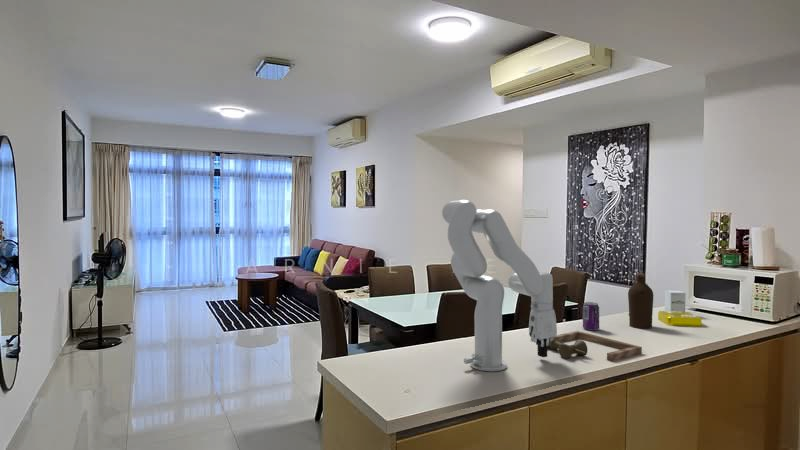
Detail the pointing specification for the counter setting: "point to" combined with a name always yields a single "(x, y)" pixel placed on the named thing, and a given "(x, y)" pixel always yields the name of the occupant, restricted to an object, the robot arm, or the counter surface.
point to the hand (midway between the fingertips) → (542, 356)
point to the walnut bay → (624, 351)
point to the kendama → (568, 348)
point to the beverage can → (591, 316)
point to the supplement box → (674, 301)
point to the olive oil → (640, 304)
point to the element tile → (679, 318)
